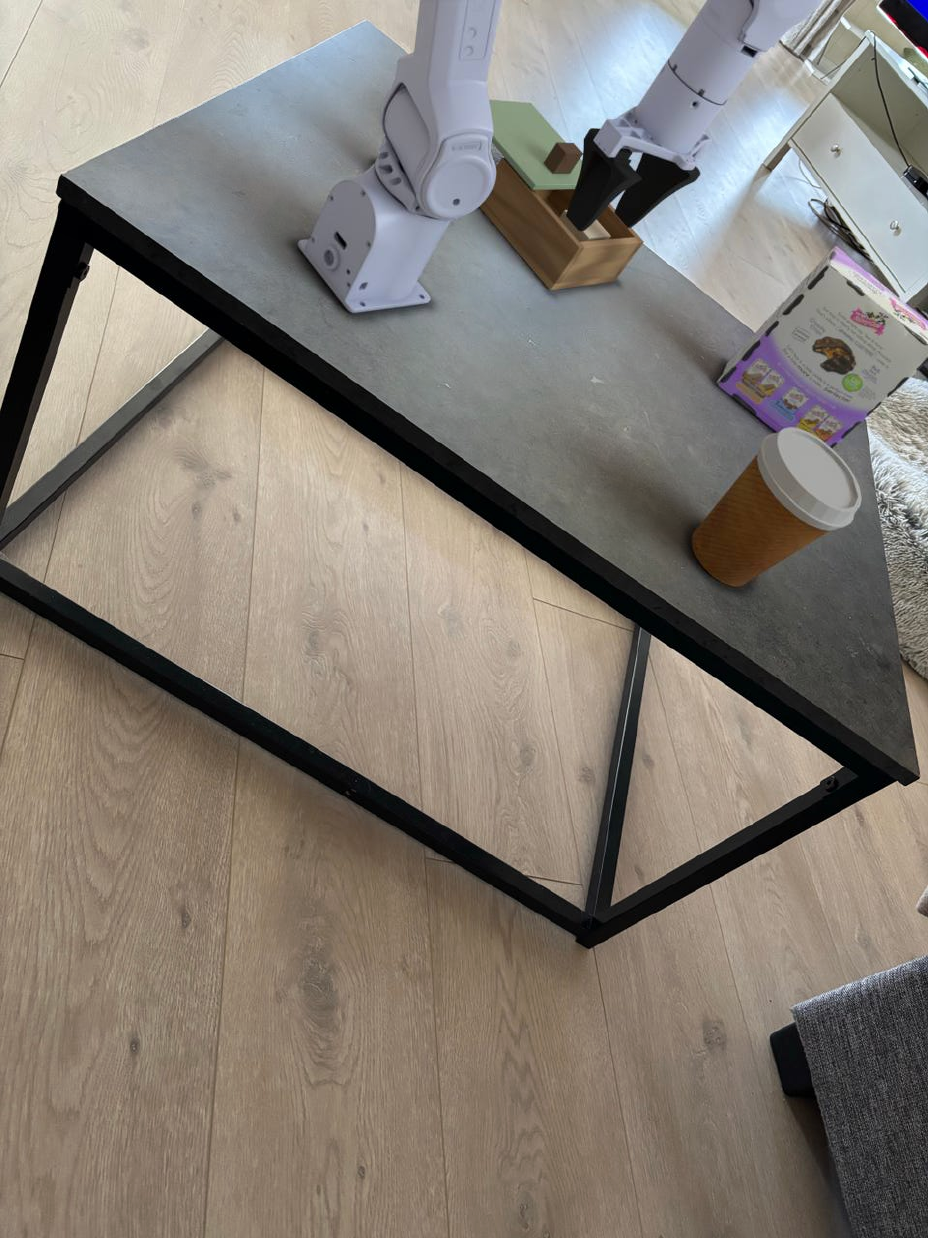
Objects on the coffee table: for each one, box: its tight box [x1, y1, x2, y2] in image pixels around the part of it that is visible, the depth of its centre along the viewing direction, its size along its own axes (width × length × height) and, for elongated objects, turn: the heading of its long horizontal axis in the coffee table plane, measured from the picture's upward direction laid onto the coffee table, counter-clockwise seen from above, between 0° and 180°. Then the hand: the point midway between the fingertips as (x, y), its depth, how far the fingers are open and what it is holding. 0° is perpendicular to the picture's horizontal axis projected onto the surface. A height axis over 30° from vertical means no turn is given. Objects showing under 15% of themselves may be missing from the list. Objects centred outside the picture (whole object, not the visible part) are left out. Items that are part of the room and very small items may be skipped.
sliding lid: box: [489, 99, 583, 190], centre depth 98 cm, size 12×13×3 cm
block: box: [559, 210, 611, 242], centre depth 99 cm, size 4×4×4 cm
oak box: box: [478, 156, 645, 291], centre depth 99 cm, size 12×13×5 cm
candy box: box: [716, 245, 928, 450], centre depth 99 cm, size 14×6×16 cm, turn 65°
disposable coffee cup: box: [691, 427, 863, 587], centre depth 80 cm, size 10×10×12 cm
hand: (599, 221), depth 86 cm, fingers open, 7 cm apart
